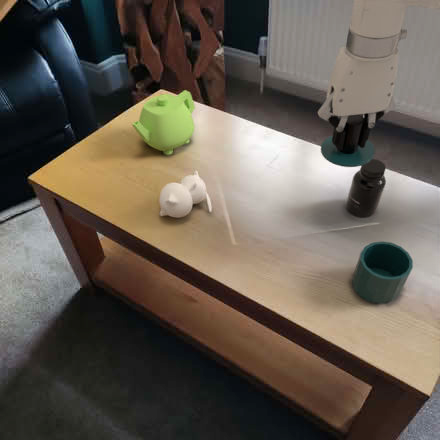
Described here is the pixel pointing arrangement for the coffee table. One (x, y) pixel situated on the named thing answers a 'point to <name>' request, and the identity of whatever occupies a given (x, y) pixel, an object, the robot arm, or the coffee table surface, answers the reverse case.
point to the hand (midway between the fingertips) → (348, 144)
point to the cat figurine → (183, 196)
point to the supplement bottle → (366, 189)
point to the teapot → (166, 121)
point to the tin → (381, 272)
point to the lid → (349, 146)
